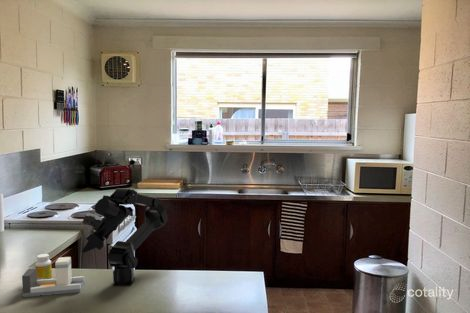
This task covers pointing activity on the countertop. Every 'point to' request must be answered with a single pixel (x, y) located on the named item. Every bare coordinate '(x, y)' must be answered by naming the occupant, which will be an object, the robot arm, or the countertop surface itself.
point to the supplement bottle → (43, 267)
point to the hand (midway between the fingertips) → (82, 251)
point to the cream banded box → (63, 271)
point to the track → (48, 285)
